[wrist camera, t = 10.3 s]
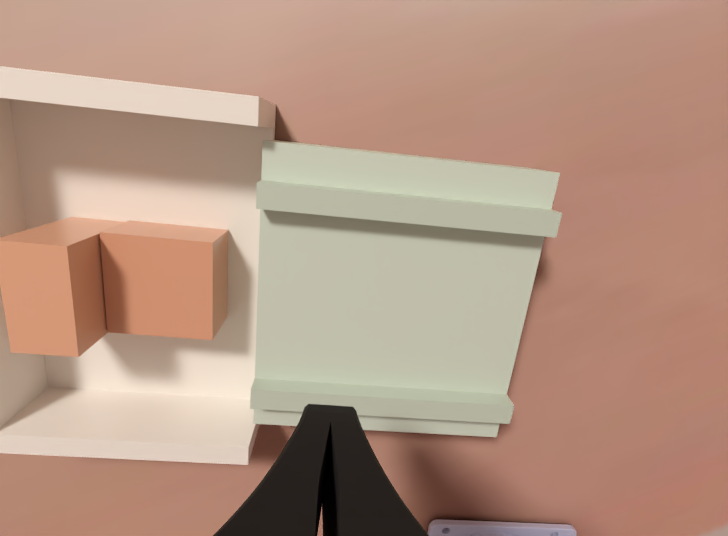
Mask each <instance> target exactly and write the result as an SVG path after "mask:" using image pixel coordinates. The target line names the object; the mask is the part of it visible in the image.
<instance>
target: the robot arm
mask: <svg viewBox="0 0 728 536" xmlns="http://www.w3.org/2000/svg"><path fill="white" fill-rule="evenodd" d="M321 507H322V515H323V536H576V535H577V532H576V530H575V529H574V527H573V526H572V525H568V524H544V523H518V522H492V521H467V520H441V519H437V520H433V521H432V522H431V523H430V524H429V527H428V533H426V532H425V530H424V529H423V528H422V526H421V525H420V524H419V523H418V521H417V520H416V519H415V518H414V516H413V515H412V513H411V512H410V511H409V509H408V508H407V507H406V505H405V504H404V502H403V501H402V499H401V498H400V497H399V495H398V494H397V492H396V490H395V489H394V487H393V486H392V484H391V482H390V481H389V479H388V478H387V476H386V474H385V473H384V471H383V469H382V467H381V465H380V464H379V462H378V460H377V458H376V456H375V454H374V452H373V450H372V448H371V446H370V444H369V442H368V440H367V438H366V436H365V433H364V431H363V429H362V426H361V424H360V421H359V418H358V415H357V412H356V410H355V409H354V407H351V406H335V405H320V404H308V405H307V406H305V407H304V410H303V413H302V416H301V418H300V420H299V423H298V425H297V427H296V429H295V430H294V432H293V434H292V436H291V438H290V439H289V441H288V443H287V444H286V446H285V448H284V449H283V451H282V453H281V454H280V456H279V457H278V459H277V460H276V462H275V463H274V464H273V466H272V467H271V469H270V470H269V471H268V473H267V474H266V476H265V477H264V478H263V480H262V481H261V482H260V484H259V485H258V486H257V488H256V489H255V490H254V491H253V493H252V494H251V495H250V496H249V497H248V499H247V500H246V501H245V502H244V503H243V504H242V506H241V507H240V508H239V509H238V510H237V511H236V512H235V513H234V514H233V516H232V517H231V518H230V519H229V520H228V521H227V522H226V523H225V524H224V525H223V526H222V527H221V528H220V529H219V530H218V531H217V532H216V533H215V534H214V535H213V536H317V533H318V526H319V520H320V513H321Z"/></svg>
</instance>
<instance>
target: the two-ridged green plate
mask: <svg viewBox="0 0 728 536" xmlns="http://www.w3.org/2000/svg"><path fill="white" fill-rule="evenodd" d="M559 175H560V173H557V172H551V171H545V170H539V169H533V168H526V167H517V166H508V165H499V164H489V163H480V162H471V161H462V160H453V159H444V158H435V157H425V156H416V155H407V154H398V153H389V152H380V151H371V150H361V149H352V148H343V147H334V146H325V145H316V144H306V143H297V142H288V141H279V140H265V141H263V142H262V173H261V180H260V181H258V182H257V193H256V209H260V234H259V264H258V295H257V326H256V356H255V379H254V382H253V384H252V387H251V396H250V409H254V417H253V424H267V425H285V426H297V425H298V423H299V420H300V418H301V416H302V413H303V410H304V407H305V406H307V405H308V404H320V405H335V406H351V407H354V409H355V410H356V412H357V415H358V418H359V421H360V424H361V426H362V429H363V430H375V431H393V432H411V433H429V434H447V435H465V436H483V437H497V433H498V429H499V425H500V423H502V424H510V421H511V417H512V413H513V409H514V405H513V403H512V402H511V400H510V398H509V397H508V395H507V392H508V387H509V383H510V379H511V375H512V371H513V367H514V362H515V358H516V354H517V350H518V346H519V342H520V338H521V333H522V329H523V325H524V321H525V317H526V313H527V308H528V304H529V300H530V296H531V292H532V288H533V283H534V279H535V275H536V271H537V267H538V263H539V259H540V254H541V250H542V246H543V242H544V238H545V237H555V238H556V236H557V232H558V228H559V224H560V220H561V216H562V213H560V212H557V211H554V210H551V209H552V204H553V200H554V196H555V192H556V188H557V184H558V179H559Z"/></svg>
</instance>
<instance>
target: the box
mask: <svg viewBox="0 0 728 536" xmlns="http://www.w3.org/2000/svg"><path fill="white" fill-rule="evenodd" d="M275 118H276V105H275V104H273V103H271V102H269V101H267V100H265V99H263V98H261V97H258V96H250V95H241V94H233V93H224V92H215V91H207V90H198V89H190V88H181V87H173V86H164V85H156V84H147V83H139V82H130V81H122V80H113V79H105V78H96V77H87V76H79V75H70V74H62V73H53V72H45V71H36V70H28V69H19V68H11V67H2V66H0V238H1V237H5V236H8V235H11V234H15V233H18V232H21V231H25V230H28V229H32V228H35V227H38V226H42V225H45V224H48V223H52V222H55V221H59V220H62V219H65V218H69V217H80V218H91V219H102V220H112V221H123V222H126V221H129V220H132V221H142V222H153V223H163V224H174V225H184V226H195V227H205V228H216V229H226V230H228V299H227V318H226V320H225V321H224V323H223V324H222V326H221V328H220V329H219V331H218V332H217V334H216V335H215V337H214V339H213V340H204V339H190V338H177V337H163V336H150V335H136V334H123V333H110V332H108V333H107V334H106V335H104V336H103V337H102V338H101V339H100V340H98V341H97V342H96V343H95V344H94V345H92V346H91V347H90V348H89V349H88V350H87V351H85V352H84V353H83V354H82V355H81V356H79V357H70V356H55V355H40V354H26V353H11V349H10V343H9V337H8V330H7V324H6V318H5V312H4V305H3V299H2V293H1V287H0V453H9V454H30V455H51V456H72V457H92V458H113V459H134V460H155V461H176V462H197V463H218V464H239V465H248V463H249V460H250V456H251V453H252V449H253V446H254V442H255V439H256V435H257V432H258V428H259V425H260V424H253V417H254V409H250V396H251V387H252V384H253V382H254V379H255V356H256V326H257V295H258V264H259V234H260V209H256V193H257V182H258V181H260V180H261V173H262V142H263V141H265V140H275Z"/></svg>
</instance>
